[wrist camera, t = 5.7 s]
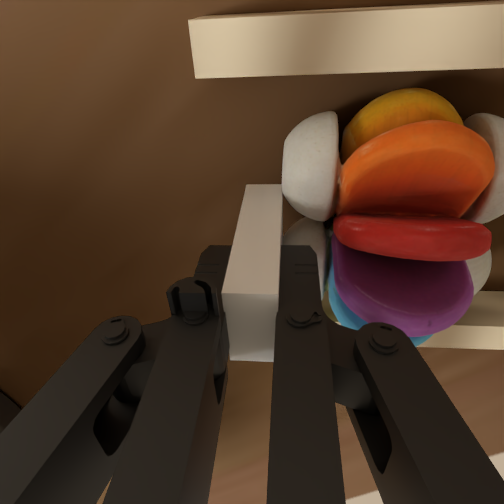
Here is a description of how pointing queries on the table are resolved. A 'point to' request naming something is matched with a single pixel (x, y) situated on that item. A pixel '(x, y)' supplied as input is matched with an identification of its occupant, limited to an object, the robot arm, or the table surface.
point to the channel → (365, 61)
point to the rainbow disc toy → (398, 208)
